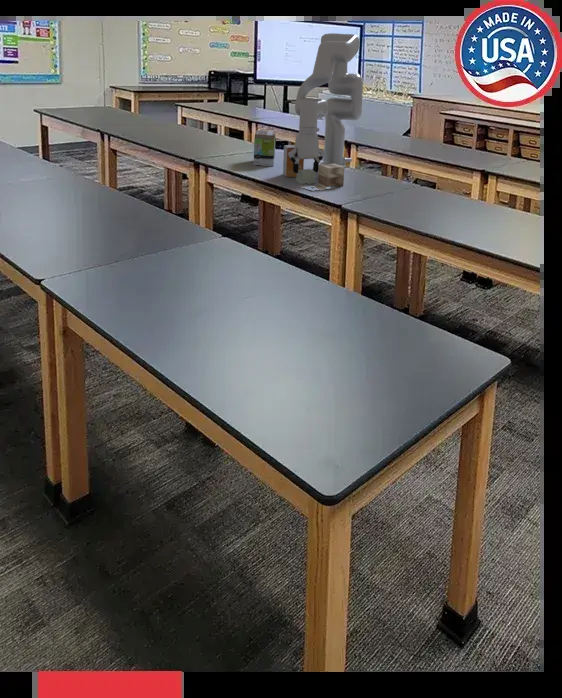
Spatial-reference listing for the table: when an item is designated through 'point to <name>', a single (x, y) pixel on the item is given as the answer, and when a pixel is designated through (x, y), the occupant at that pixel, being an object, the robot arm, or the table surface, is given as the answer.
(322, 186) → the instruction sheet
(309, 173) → the sage brick
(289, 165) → the small box
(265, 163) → the tea box
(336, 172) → the wood-grain cube
